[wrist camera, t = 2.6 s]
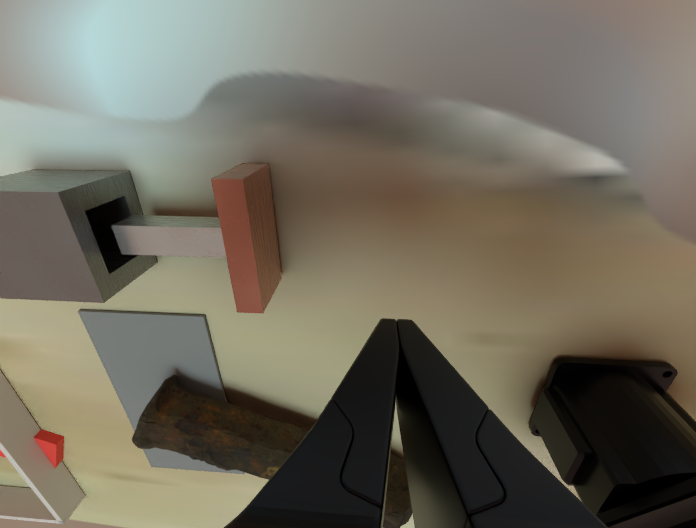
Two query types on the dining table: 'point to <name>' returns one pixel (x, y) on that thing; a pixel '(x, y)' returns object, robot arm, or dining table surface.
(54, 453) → the bracket
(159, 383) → the mat
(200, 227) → the key
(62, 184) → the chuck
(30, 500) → the parts frame
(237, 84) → the dining table surface
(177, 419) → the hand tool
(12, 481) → the dining table surface
